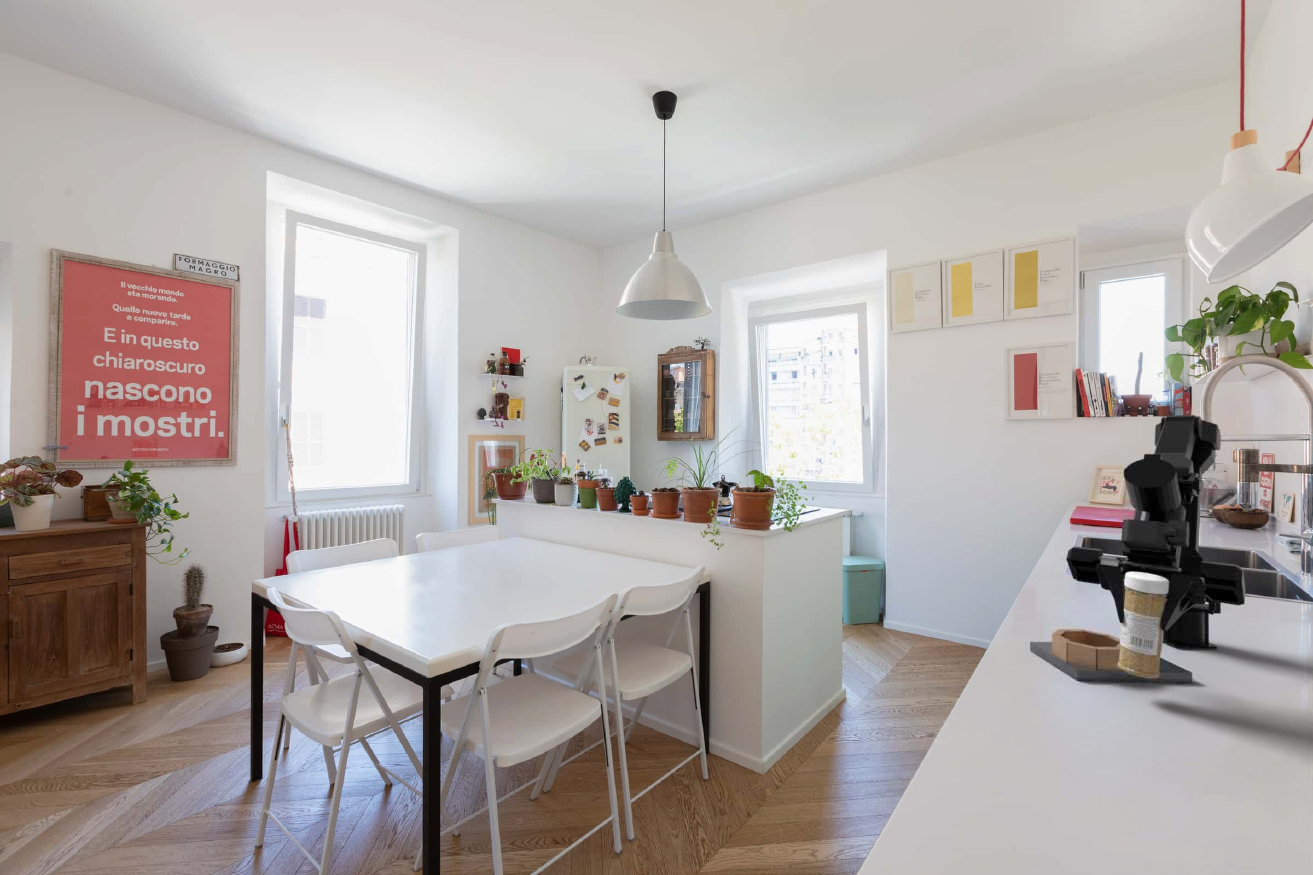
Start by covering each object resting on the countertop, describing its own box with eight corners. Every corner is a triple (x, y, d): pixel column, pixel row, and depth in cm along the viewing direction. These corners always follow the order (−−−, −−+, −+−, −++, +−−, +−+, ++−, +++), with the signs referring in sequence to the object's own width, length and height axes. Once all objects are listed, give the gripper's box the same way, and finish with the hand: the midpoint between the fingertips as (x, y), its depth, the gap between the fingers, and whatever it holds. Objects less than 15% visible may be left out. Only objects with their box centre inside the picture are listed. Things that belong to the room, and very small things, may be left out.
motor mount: (1130, 652, 97) (1130, 625, 97) (1192, 682, 85) (1192, 651, 85) (1030, 650, 98) (1029, 623, 98) (1076, 680, 86) (1076, 649, 86)
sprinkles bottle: (1164, 674, 79) (1174, 577, 79) (1152, 682, 77) (1162, 582, 76) (1123, 661, 83) (1132, 568, 82) (1110, 668, 81) (1120, 572, 80)
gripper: (1069, 493, 89) (1047, 578, 82) (1242, 502, 75) (1234, 606, 68) (1083, 538, 94) (1064, 621, 87) (1248, 555, 80) (1241, 656, 73)
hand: (1141, 625), depth 79 cm, fingers closed on sprinkles bottle, 4 cm apart
